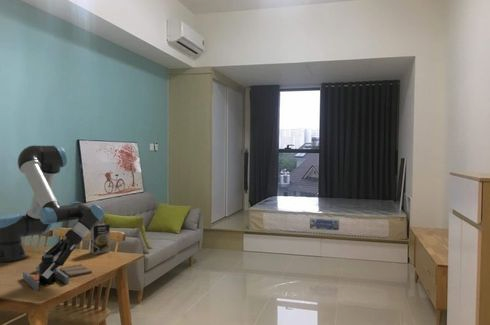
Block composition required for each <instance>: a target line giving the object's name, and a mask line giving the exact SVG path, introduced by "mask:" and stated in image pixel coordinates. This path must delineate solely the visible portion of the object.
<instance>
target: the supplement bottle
mask: <svg viewBox="0 0 490 325" xmlns="http://www.w3.org/2000/svg"><path fill="white" fill-rule="evenodd" d="M53 260H54V256H53V255H44V254H43V255H42V256H41V261H42V262H41V261H40V262H41V263H40V262H39V263H40V264H39V263H38V264H39V271H38V275H39V280H38V283H39V285H41V286H48V285H53V284H55V283H56V281H57V277H56V270H55V271H54V272H53V273H52V274H51V276H50V277H49V278H48V279H47V278H46V277H44V276H43V273H44V272H45V271H46V270H47V269H48V268H49V267H50V266H51V265H52V263H53V262H54V261H53Z"/></svg>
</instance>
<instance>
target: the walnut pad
mask: <svg viewBox="0 0 490 325" xmlns="http://www.w3.org/2000/svg"><path fill="white" fill-rule="evenodd" d="M59 270H60V271H61V272H63V273H64V274H66V275H67V276H68V277H69V278H75V277H79V276H84V275H88V274H92V273H93V272H92V270H91V269H90V268H88V267H86V266H85V265H83V264H82V263H81V264H75V265H69V266H64V267H60V269H59Z"/></svg>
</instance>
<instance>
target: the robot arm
mask: <svg viewBox="0 0 490 325" xmlns="http://www.w3.org/2000/svg"><path fill="white" fill-rule="evenodd" d="M67 163H68V155H67V153H66V150H65V149H64V148H63V147H62V146H60V145H55V144H54V145H53V144H52V145H35V144H34V145H29V146H27V147H25V148H24V149H22V151H20V153H19V155H18V159H17V166H18V167H17V168H18V170H19V171H20V173H21V174H22V175H24V176H25V178H26V180H27V182H28V184H29V186H30V187H31V189H32V193H33V195H32V199H31V205H30V208H28V209H27V210H26V214H24V215H23V214H22V213H9V214H5V215H2V216H0V263H9V262H16V261H21V260H23V259H24V258H26V255H27V254H26V251H25V247H24V245H23V243H22V241H23V240H22V239H23V238H25V237H31V236H36V235H39V236H40V235H43V234H47V233H48V232H49V231H50V230H51V228H52V226H53V224H57V223H63V222H71V221H76V222H75V223H74V224H73V225H72V226H71V227H70V228H71V229H68V231H67V232H66V233H65V234H64V237H65V239H63V238H60V239H59V241H58V242H57V243H56V244H55V245H53V246H52V247H51V248H50V249H49V251H48V250H47V251H48V252H46V253H45V255H53V256H55V255H57V254H58V253H59V252H60V254H59V256H58V258H57V260H56V261H54V262H53V263H52V265H51V266H50V267H49V268H48V269H47V270H46V271H45V272H44V273H43V276H44V277H46V278H47V279H48V278H49V277H50V276H51V274H52V273H53V272H54V271H55V270H56V269H59V267H62V266H64V265H65V263H66V261H67V260H68V258H69V257H70V255H71V254H72V253H73V252H74V251H75V249H76V246H78V245H79V244H80V243H82V241H83V238H85V237H86V236H88V235H89V233H91V230H92V228H93V227H94V226H95V225H96V224H99V222H100V221H101V220H102V218H103V217H104V216H105V215H106V213H105V210H103V208H102V207H100V206H99V205H98V204H96V203H95V204H91V206H87V205H86V204H84V203H82V202H80V201H73V202H71V203H70V204H66V205H60V203H59V201H58V199H57V198H56V195H55V193H54V191H53V189H54V185H55V180H56V175H57V174H59V173H60V171H61V168H65V167H66V166H67ZM41 262H42V260H41V261H40V262H39V263H38V264H37V265H36V266H35V267H34V270H36V271H37V272H39V264H40V263H41Z"/></svg>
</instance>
